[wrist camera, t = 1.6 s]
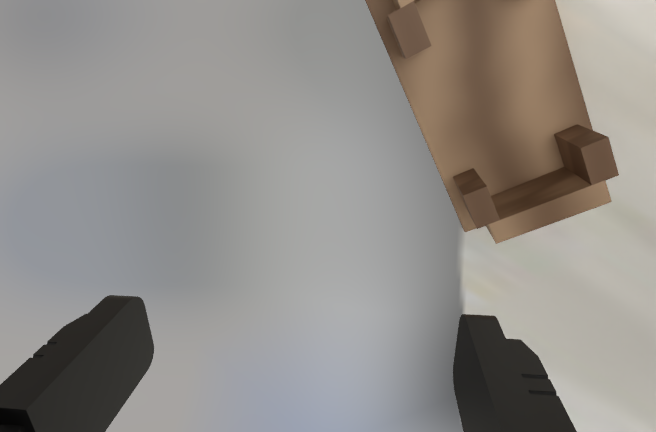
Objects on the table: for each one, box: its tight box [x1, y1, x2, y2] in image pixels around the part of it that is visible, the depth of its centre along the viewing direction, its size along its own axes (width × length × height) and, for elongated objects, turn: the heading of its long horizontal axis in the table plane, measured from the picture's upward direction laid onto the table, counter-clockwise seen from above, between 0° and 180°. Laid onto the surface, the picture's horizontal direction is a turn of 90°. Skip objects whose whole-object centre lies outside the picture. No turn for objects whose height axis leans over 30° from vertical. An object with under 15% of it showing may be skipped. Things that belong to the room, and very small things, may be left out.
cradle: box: [365, 0, 619, 244], centre depth 25 cm, size 10×18×5 cm, turn 27°
